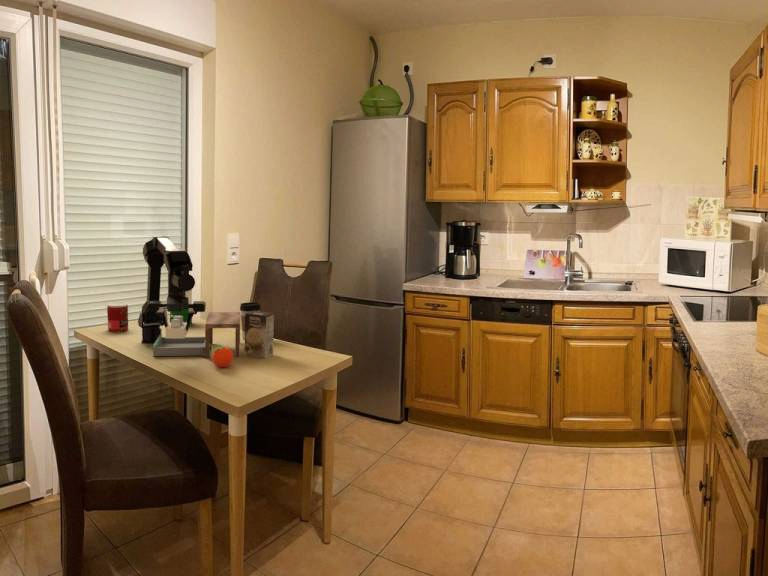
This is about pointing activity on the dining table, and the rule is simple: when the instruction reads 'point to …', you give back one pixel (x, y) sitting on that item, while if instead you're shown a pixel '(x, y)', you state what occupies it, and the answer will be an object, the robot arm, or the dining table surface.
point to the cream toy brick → (176, 328)
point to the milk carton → (184, 311)
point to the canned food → (117, 316)
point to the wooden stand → (222, 322)
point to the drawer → (179, 346)
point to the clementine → (222, 356)
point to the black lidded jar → (245, 309)
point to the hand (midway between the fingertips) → (177, 330)
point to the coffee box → (259, 334)
